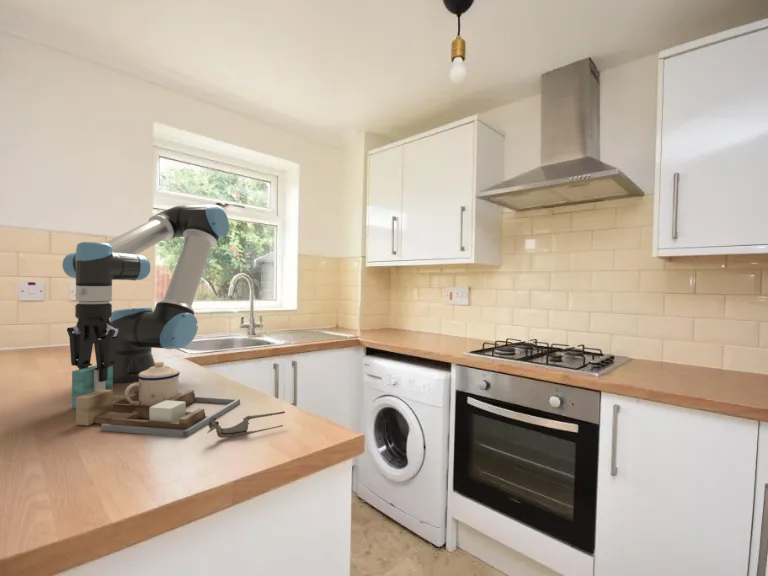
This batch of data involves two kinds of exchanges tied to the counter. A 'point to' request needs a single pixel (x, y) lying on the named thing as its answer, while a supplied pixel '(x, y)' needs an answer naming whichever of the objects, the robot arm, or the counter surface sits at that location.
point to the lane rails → (175, 432)
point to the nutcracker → (237, 427)
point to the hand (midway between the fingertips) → (93, 393)
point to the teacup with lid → (155, 385)
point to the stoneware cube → (167, 411)
